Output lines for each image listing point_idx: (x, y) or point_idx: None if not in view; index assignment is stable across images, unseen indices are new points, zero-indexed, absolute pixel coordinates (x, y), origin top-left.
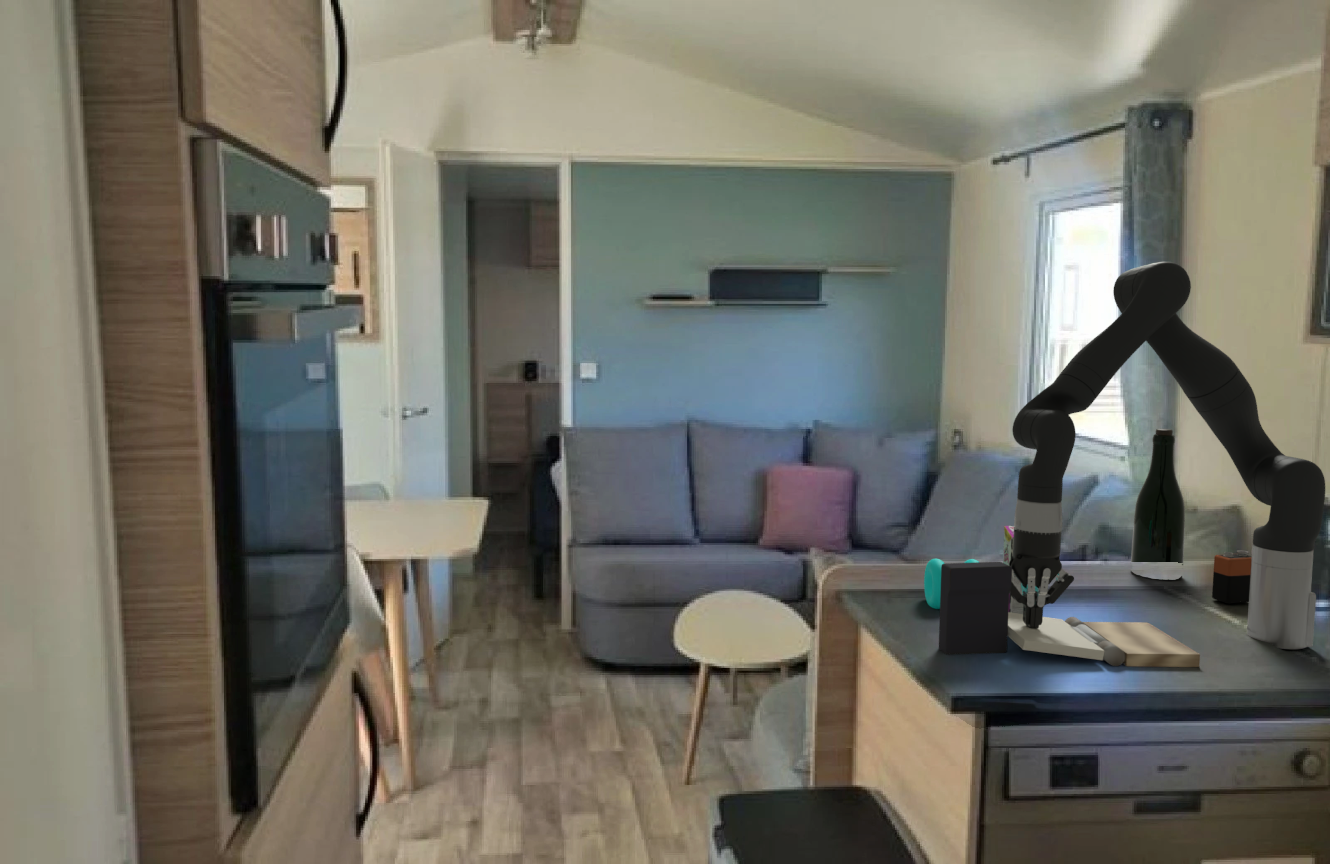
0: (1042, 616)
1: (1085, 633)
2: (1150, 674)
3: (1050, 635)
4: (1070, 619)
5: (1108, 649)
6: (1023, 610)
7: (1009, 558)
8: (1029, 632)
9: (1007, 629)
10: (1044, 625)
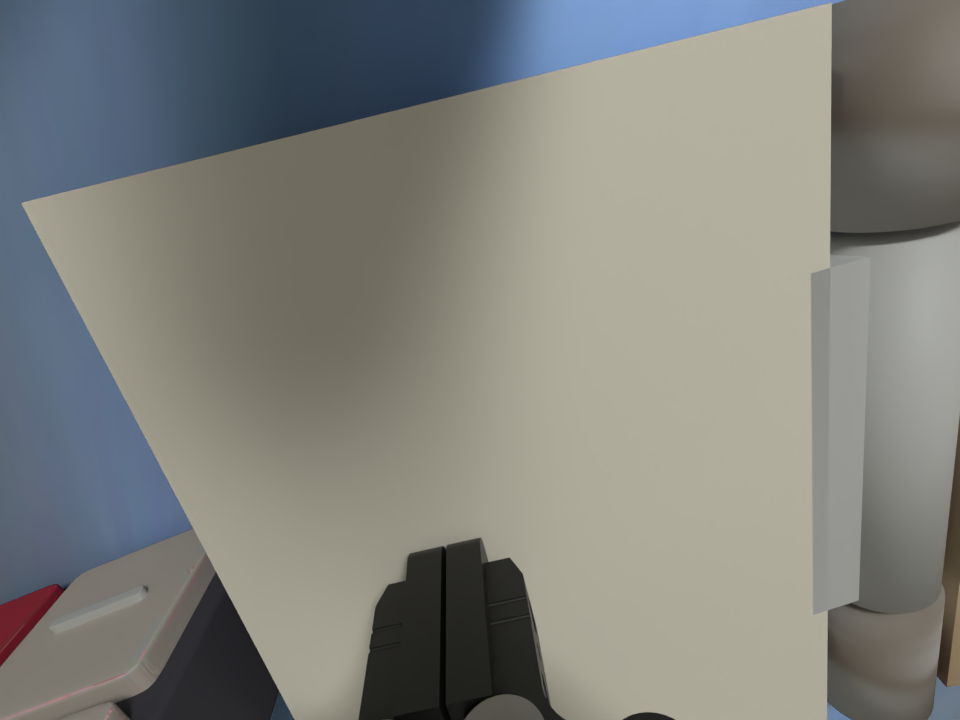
0: (543, 666)
1: (866, 424)
2: (948, 694)
3: (565, 673)
4: (910, 52)
5: (858, 711)
6: (367, 688)
7: None
8: None
9: (269, 718)
10: (575, 428)
